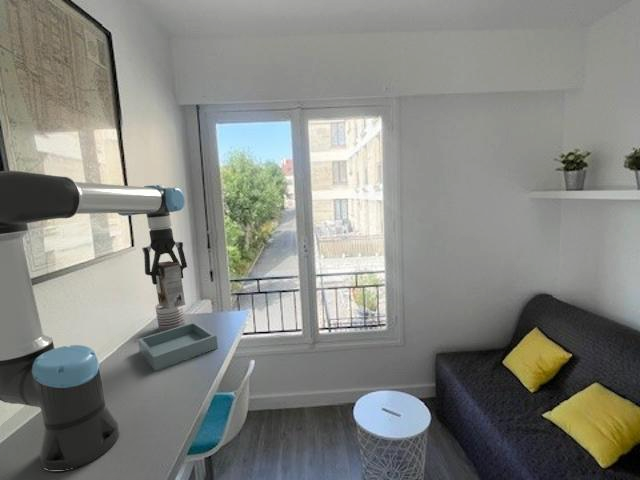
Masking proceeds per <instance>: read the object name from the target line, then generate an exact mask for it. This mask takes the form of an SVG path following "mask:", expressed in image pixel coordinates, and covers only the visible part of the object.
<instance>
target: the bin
mask: <svg viewBox="0 0 640 480" xmlns="http://www.w3.org/2000/svg"><path fill="white" fill-rule="evenodd" d="M137 340H138V341H137V343H138V347H139V353H141V355H142V356H143V357H144V359H145V360H146V361H147V362H148V364H149V365H150V366H151V367H152V368H153V370H154V371H155V372H157V371H160V370H162V369H165V368H168V367H172V366H174V365H176V364H180V363H182V362H184V361H183V360H185V359H188V358H190V359H192V358H191V357H193V358H195V357H194V356H196V355H198V356H200V355H199V354H201V355H203V354H202V353H204V354H206V353H205V352H207V353H209V352H212V351H215V350H217V349H219V346H218V337H217V335H216V334H215V333H213V332H212V331H210V330H208V329H206V328H205V327H204V326H202V325H200V324H199V323H197V322H196V321H194V322H190V323H187V324H186V323H185V325H183V326H180V327H177V328H173V329H170V330H167V331H163V332H157V333H154V334H150V335H147V336H145V337H141V338H137ZM214 349H215V350H214ZM211 350H212V351H211ZM208 351H209V352H208ZM196 357H197V356H196ZM188 360H189V359H188ZM181 361H182V362H181ZM185 361H186V360H185Z"/></svg>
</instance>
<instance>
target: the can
mask: <svg viewBox="0 0 640 480" xmlns="http://www.w3.org/2000/svg"><path fill="white" fill-rule="evenodd" d="M154 308H155V313H156V321H157V324H158V333H160V332H163V331H167V330H170V329H173V328H177V327H180V326H183V325H186V321H185V315H184V305H183V306H180V307H177V308H173V309H170V310H169V309H167V308H164V307H162V306H159V303H158V304H156V305H155V306H154Z"/></svg>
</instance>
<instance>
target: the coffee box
mask: <svg viewBox="0 0 640 480" xmlns="http://www.w3.org/2000/svg"><path fill="white" fill-rule="evenodd" d="M180 265H181V262H179V263H176V262H173V261H172V260H171V261H170V260H168V261H167V260H166V261H162V262H160V261H159V263H158V268H157V272H156V274H157V275H159V282H160V288H161V293H158V292H157V291H156V294H157V300H158V304H159V306H162V307H164V308H167V309H169V310H170V309H173V308H177V307H180V306H183V307H184V306H185V305H186V301H185V294H184V286H183V280H182V279H183V278H181V270H180Z"/></svg>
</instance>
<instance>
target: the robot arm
mask: <svg viewBox="0 0 640 480" xmlns="http://www.w3.org/2000/svg"><path fill="white" fill-rule="evenodd" d="M185 202H186V201H185V195H184V193H183V191H182V190H181V189H180V188H178V187H167V188H166V186H165V185H163V184H156V185H155V184H153V185H145V186H133V185H121V184H118V185H117V184H106V183H105V184H104V183H92V182H78V181H74V180H73V179H72V178H71V177H69V176H59V175H51V174H43V173H35V172H28V171H20V170H19V171H18V170H0V401H1V402H3V403H7V404H11V405H12V404H16V405H17V404H18V405H25V406H29V407H36V408H40V411H41V416H42V420H43V424H44V434H43V439H42V445H41V450H40V454H39V455H40V456H39V457H40V462H41V465H42V466H43V467H44V468H46V469H48V470H66V469H71V468H75V467H78V468H80V467H83V466H85V465H88V464H89V463H91V462H94V461H95V460H96V459H98V458H99V457H101V456H103V455H104V454H105V453H106V452H108V451H109V450H110V449H111V448H112V447H113V446H114V445H115V444H116V442H117V441H118V438H119V437H120V429H119V424H118V422H117V420H116V419H115V417H114V416H113V414H112V413H111V412H110V411H111V410H109V409H108V407H107V406H106V401H105V395H104V390H103V385H102V379H101V372H100V364H99V361H98V357H97V354H96V352H95V351H94V350H93V349H92V348H91V347H89V346H86V345H78V344H75V345H70V346H67V345H66V346H59V347H56V348H55V344H54V341H53V340H54V339H53V338H52V337H50V336H47V335H45V334H44V332H43V328H42V322H41V320H40V315H39V310H38V305H37V300H36V297H35V293H34V287H33V284H32V283H33V282H32V278H31V274H30V269H29V265H28V260H27V256H26V253H25V247H24V243H23V238H24V237H25V235H27V234H28V233H29V227H28V224H32V223H36V222H38V223H39V222H42V221H49V220H59V219H71V218H72V217H74V216H75V215H78V214H81V215H82V214H83V215H85V214H86V215H87V214H88V215H89V214H90V215H91V214H118V215H119V216H123V217H124V216H125V217H126V216H130V217H131V216H136V215H146V219H147V224H148V225H147V226H148V229H150V230H149V239H150V244H149V245H148V246H144V247H142V248H141V249H142V252H143V255H144V258H143V259H144V260H143V261H144V274H145V275H147V276H150V277H151V282H152V284H153V285H155V288H156V293H157V292H158V293H161V288H160V282H159V275H157V274H156V272H157V268H158V263H160V260H161V259H160V258H161V256H162V255H164V254H168V256H169V257H170V259H171V261H172V262H176V263H180V270H181V278H182V279H183V278H184V272H183V270H184V269H186V268H187V267H188V264H187V260H186V259H187V258H186V257H185V252H184V249H183V247H184V243H183V242H182V241H175V239H174V233H173V229H172V221H171V215H170V213H175V212H179V211H181V210H183V208H184V206H185V204H186V203H185ZM174 248H176V249H177V253H178V257H179V259H178V258H177V256H176V254H175V252H174ZM151 250H153V252H154V254H153V255H154V257H153V261H152V265H151V256H150V255H151V254H150V253H151ZM179 260H180V261H179ZM42 466H41V467H42ZM79 466H80V467H79ZM43 467H42V468H43ZM44 468H43V469H44ZM75 469H76V468H75Z"/></svg>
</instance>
